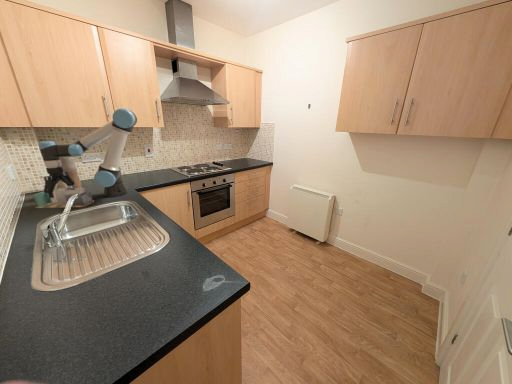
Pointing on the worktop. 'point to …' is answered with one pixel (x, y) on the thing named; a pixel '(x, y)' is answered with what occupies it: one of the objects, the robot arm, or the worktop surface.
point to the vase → (71, 170)
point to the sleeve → (81, 199)
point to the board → (52, 205)
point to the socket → (41, 199)
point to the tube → (63, 192)
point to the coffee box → (58, 184)
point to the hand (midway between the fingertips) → (63, 198)
